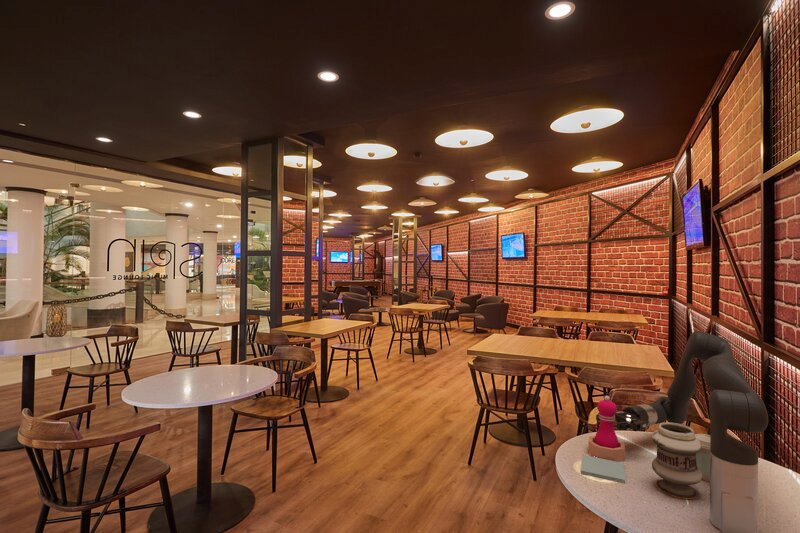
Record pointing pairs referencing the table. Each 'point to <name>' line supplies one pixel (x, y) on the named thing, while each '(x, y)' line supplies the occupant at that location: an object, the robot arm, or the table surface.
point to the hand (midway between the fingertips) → (607, 422)
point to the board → (603, 468)
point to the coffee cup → (704, 456)
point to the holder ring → (606, 451)
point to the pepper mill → (606, 424)
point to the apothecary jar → (676, 460)
